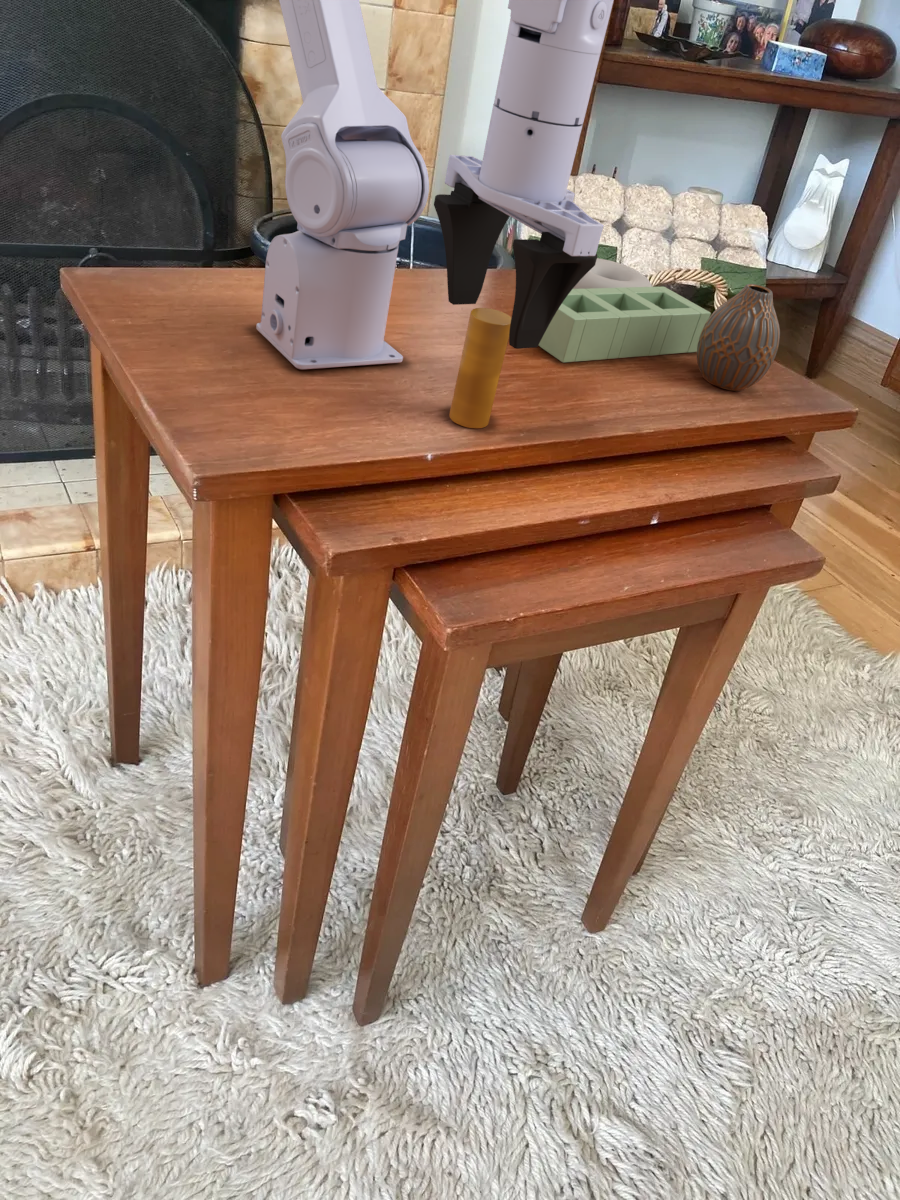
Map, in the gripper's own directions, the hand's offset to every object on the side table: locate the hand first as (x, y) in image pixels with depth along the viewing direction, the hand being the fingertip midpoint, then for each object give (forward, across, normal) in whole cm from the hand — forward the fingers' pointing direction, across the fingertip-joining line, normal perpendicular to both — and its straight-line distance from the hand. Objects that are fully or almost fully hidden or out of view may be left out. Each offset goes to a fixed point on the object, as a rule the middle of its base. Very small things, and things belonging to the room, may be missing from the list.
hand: (491, 323), depth 68 cm
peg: (+7, 0, 0) cm, 7 cm away
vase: (+8, +1, -30) cm, 31 cm away
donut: (+8, +20, -31) cm, 38 cm away
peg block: (+7, +11, -24) cm, 27 cm away
